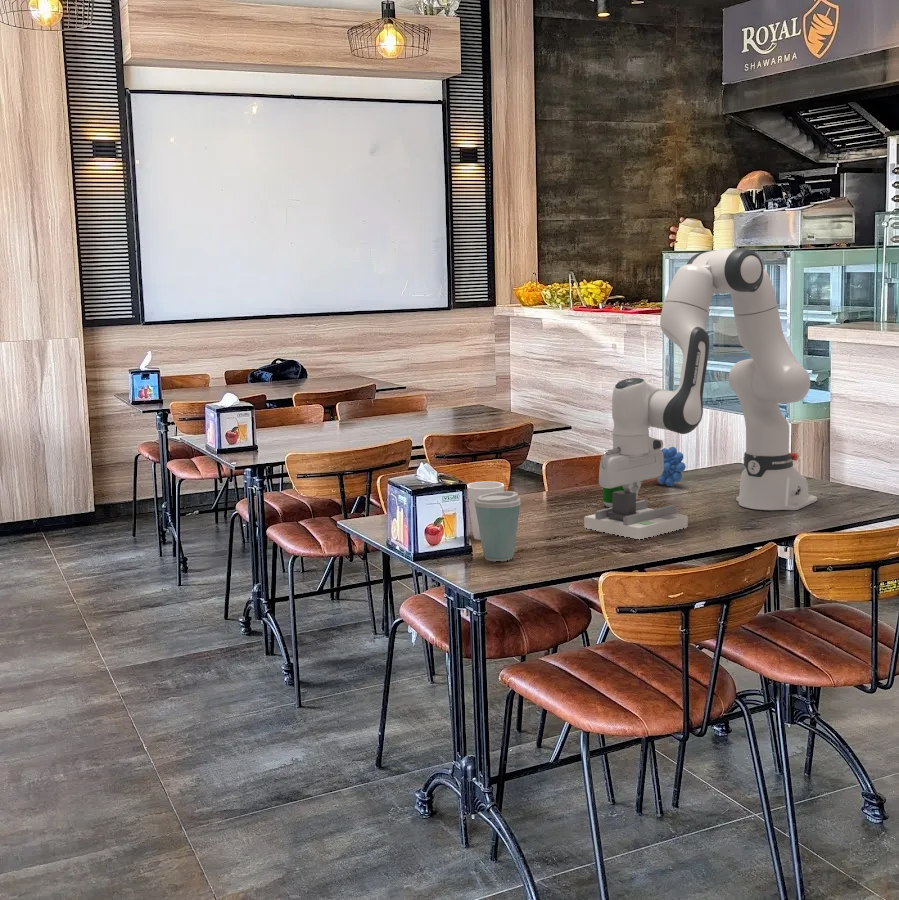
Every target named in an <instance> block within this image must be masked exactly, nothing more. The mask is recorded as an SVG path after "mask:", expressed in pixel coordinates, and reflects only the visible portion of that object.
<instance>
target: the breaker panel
mask: <svg viewBox="0 0 899 900" xmlns="http://www.w3.org/2000/svg"><path fill="white" fill-rule="evenodd" d="M648 505H649V504H648V499H641V500H636V512H638V513H637V514H633V515H629V516H625V517H623V520H619V519H614V518H609V517H607V512H610V511H612V507H611V508H607V507H606V508H602V509H600V510H599V509H598V510H595V512H594V514H589V515H585V516H584V518H583V519H584V522H583V523H584V529H586V528H587V529H586V530H590V529H592V531H595V530H596V531H595V532H600V533H603V532H605V533H604V534H608V533H609V535H612V534H615V535H614V536H617V535H619V536H618V537H621V536H624V537H623V538H626V537H630V538H634V539H639V540H638V541H641V540H640V539H643V540H645V539H644V538H647V539H649V538H648V537H651V538H654V537H658V536H661V535H660V534H662V535H665V534H664V533H666V534H669V533H673V532H676V530H677V531H680V530H679V529H681V530H683V528H684V529H688V528H687V527H688V526H689V525H688V523H689V522H688V521H689V520H688V519H689V517H688V515H686V514H681V513H677V512H676V509H677V506H676V505H674V504H670V505H666V506H662V507H658V508H649V507H648ZM672 531H673V532H672ZM668 532H669V533H668ZM657 535H658V536H657ZM653 536H654V537H653ZM630 538H629V539H630ZM634 539H633V540H634Z"/></svg>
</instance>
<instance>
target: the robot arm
mask: <svg viewBox="0 0 899 900" xmlns="http://www.w3.org/2000/svg"><path fill="white" fill-rule="evenodd" d="M726 293H728V294H729V295H730V297H731V303H732V309H733V316H734V321H735V326H736V332H737V338H738V341H739V343H740V345H741V346H742V347H743V348H744V349H745V350H746V351H747V353H748V354H749V356H750V358H746V359H743V360H739V361H738V362H735V363H734V364H733V366H732V367H731V369H730V370H729V374H728V384H729V387H730V388H731V390H732V391H733V393H734V394H735V396H736V397H737V399H738V401H739V404H740V407H741V410H742V414H743V418H744V423H745V452H744V454H743V466H744V469H743V470H742V471H741V474H740V475H741V476H740V484H739V492H738V493H739V495H737V496H736V497H735V498H736V499H735V500H736V502H738V505H739V506H740V507H743V508H747V509H752V510H758V511H759V510H760V511H782V510H783V511H797V510H800V509H802V508H805V507H806V506H809V505H811V504H813V503H815V502H817V501H818V497H817V496H815V495H812V494H809V484H808V480H807V478H806V477H805V476H804V475H803V474H801V472H799V471H798V470H797V469H796V468H795V467H794V464H793V461H798V459H799V453H798V452H790V424H789V422H788V420H787V419H786V418H785V416H784V415H783V413H782V411H781V409H780V406H779V404H781V405H782V404H783V405H784V404H791V403H793V404H794V403H797V402H799V401H802V400H803V399H804V398H805V397H806V396H807V395H808V393H809V391H810V387H811V377H810V374H809V371H807V369H806V368H805V367H803V366H802V365H801V363H800V362H799V361H798V360H797V359H796V357H795V355H794V354H793V352H792V350H791V348H790V346H789V344H788V342H787V341H786V338H785V337H786V336H785V334H784V330H783V326H782V321H781V317H780V312H779V307H778V301H777V296H776V293H775V288H774V286H773V284H772V280H771V277H770V275H769V273H768V271H767V270H766V269H765V268H764V264H763V260H762V259H761V257H760V256H759V254H758V253H757V252H756V251H754V250H752V249H749V248H745V247H744V248H742V247H739V248H729V247H728V248H719V249H714V250H710V251H708V250H707V251H704V250H703V251H702V252H698V253H696V254H694V255H693V256H691V257H690V258H689V260H688V261H687V263H686V264H684V265H681V267H678V269H677V271H676V272H675V275H674V277H673V278H672V281H671V283H670V285H669V287H668V290H667V292H666V295H665V299H664V302H663V306H662V309H661V313H660V318H659V321H660V322H659V325H660V328H661V331H662V332H663V334H664V335H665V337H666V338H667V339H668V340H669V341H671V342H672V343H673V344H675V345H676V346H678V347H679V349H680V350H681V352H682V357H683V358H682V366H681V371H680V377H679V378H680V379H679V385H678V387H677V389H676V390H668V389H667V390H666V389H661V388H659V387H655V386H653V385H651V384H649V383H648V382H646V381H645V380H646V379H644V378H640V377H631V378H625V379H622V380H620V381H618V382H617V383H615V385H614V387H613V390H612V398H611V399H612V400H611V401H612V402H611V417H612V420H613V428H612V449H606V450H605V451H604V453H603V454H602V455H601V457H600V463H599V468H598V471H599V472H598V484H599V486H600V487H601V488H603V487H604V488H610V489H611V488H615V487H619V486H623V489H624V491H626V492H631V493H636V500H638V498H639V495H638V493H639V490H640V488H641V486H642V481H643V482H644V481H647V480H651V479H654V478H658V477H659V476H661V475H662V473H663V471H664V457H663V452H662V449H664V448H663V447H664V441H663V440H662V439H658V438H654V437H651V436H650V431H649V428H650V427H652V428H656V429H660V430H666V431H670V432H673V433H677V434H681V435H686V434H689V433H691V432H692V431H694V430H695V429H696V428H697V427H698V426H699V424H700V423H701V421H702V419H703V415H704V400H703V397H704V388H705V381H706V374H707V368H708V360H709V353H710V337H709V334H708V332H707V330H706V329H707V328H706V326H707V325H706V324H707V318H708V314H709V310H710V305H711V301H712V298H713V296H714V294H726Z"/></svg>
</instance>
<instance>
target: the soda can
mask: <svg viewBox="0 0 899 900" xmlns="http://www.w3.org/2000/svg"><path fill="white" fill-rule="evenodd" d="M616 491H624V489H623V486H619V487H615V488H611V489H610V488H604V487H602V503H603V504H604V505H605V507H606V508H607V507H610V508H611V507H612V492H616Z"/></svg>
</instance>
